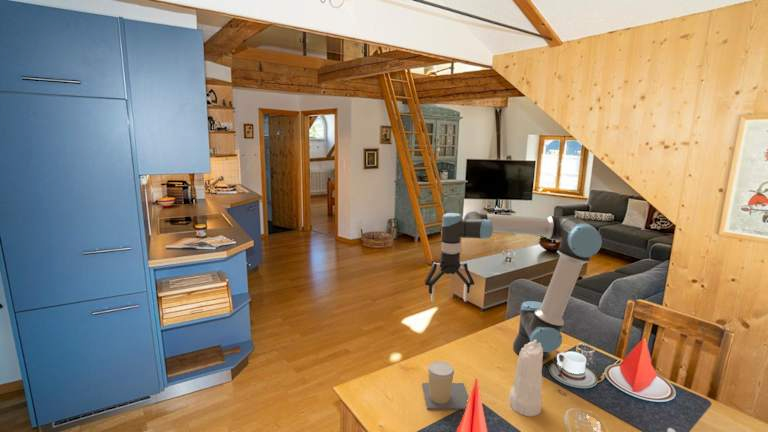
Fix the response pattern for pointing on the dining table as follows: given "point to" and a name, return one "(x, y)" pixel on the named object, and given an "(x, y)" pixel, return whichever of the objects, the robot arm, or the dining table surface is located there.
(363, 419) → the dining table surface
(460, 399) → the charcoal mat
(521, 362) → the decorative vase
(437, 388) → the coffee cup
